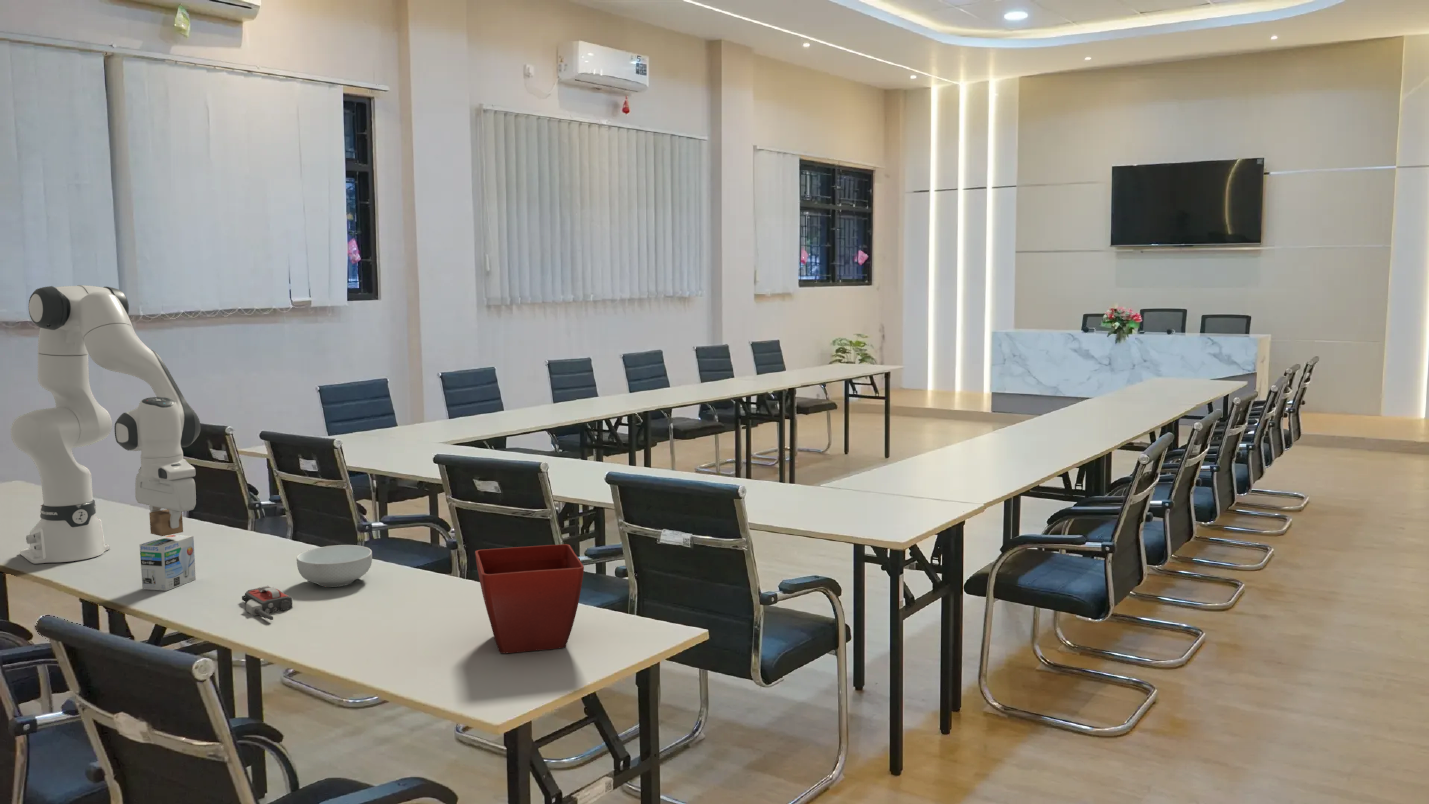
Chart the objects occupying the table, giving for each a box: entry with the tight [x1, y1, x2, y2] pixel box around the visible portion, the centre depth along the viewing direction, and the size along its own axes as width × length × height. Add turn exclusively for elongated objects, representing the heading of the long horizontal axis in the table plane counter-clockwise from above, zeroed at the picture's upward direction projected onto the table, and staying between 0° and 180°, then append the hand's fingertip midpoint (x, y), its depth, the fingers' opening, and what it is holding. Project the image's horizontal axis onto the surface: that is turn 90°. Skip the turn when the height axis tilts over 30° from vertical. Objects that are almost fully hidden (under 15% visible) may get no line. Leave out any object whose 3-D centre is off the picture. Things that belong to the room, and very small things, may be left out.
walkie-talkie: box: [241, 585, 294, 621], centre depth 235 cm, size 9×4×20 cm
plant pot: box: [474, 543, 585, 654], centre depth 213 cm, size 19×19×17 cm
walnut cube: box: [148, 509, 184, 537], centre depth 253 cm, size 5×5×5 cm
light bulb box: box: [139, 534, 197, 592], centre depth 254 cm, size 11×7×11 cm, turn 169°
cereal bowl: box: [296, 544, 373, 588], centre depth 256 cm, size 17×17×7 cm
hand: (166, 526), depth 253 cm, fingers closed on walnut cube, 5 cm apart
